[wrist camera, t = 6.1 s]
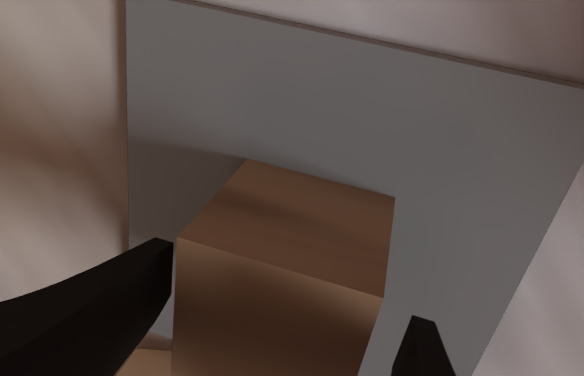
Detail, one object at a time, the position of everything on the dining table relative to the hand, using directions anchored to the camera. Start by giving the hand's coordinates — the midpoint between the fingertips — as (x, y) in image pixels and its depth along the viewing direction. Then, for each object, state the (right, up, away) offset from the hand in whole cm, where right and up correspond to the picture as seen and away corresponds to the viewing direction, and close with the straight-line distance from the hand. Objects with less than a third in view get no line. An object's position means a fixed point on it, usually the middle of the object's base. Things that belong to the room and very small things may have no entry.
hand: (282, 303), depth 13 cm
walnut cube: (+1, +2, +3) cm, 3 cm away
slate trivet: (+1, +2, +4) cm, 4 cm away
